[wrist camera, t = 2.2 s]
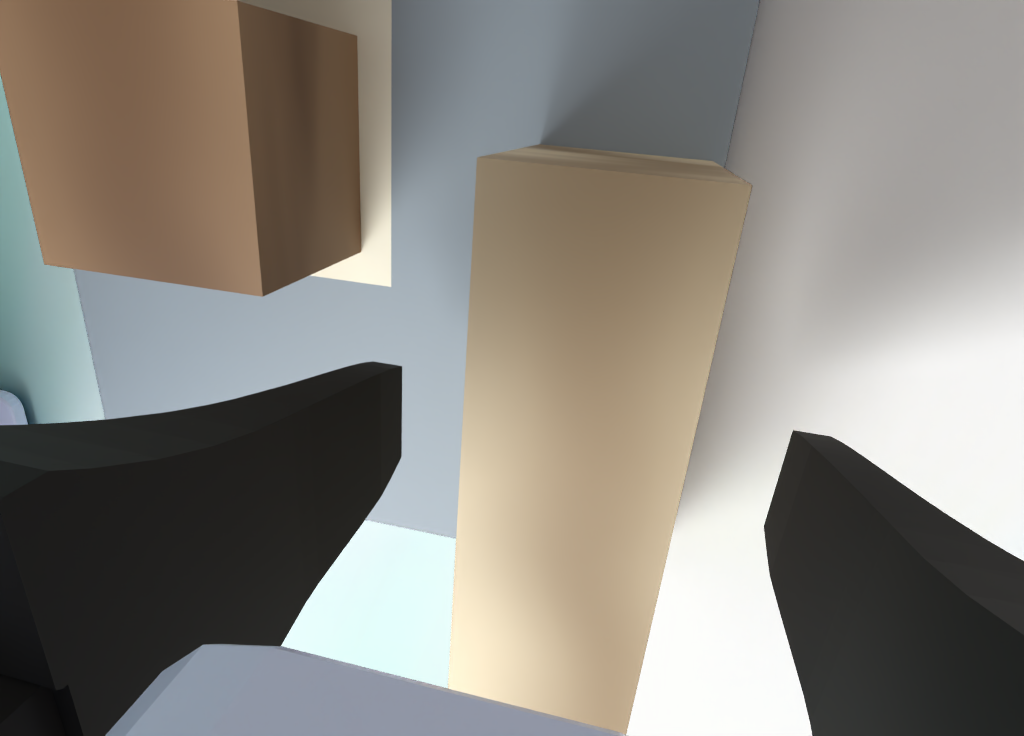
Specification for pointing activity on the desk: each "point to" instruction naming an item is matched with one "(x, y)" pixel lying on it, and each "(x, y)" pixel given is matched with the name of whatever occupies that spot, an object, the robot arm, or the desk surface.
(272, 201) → the brown wooden cube
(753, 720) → the desk surface
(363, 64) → the board
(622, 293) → the tan rectangular block
